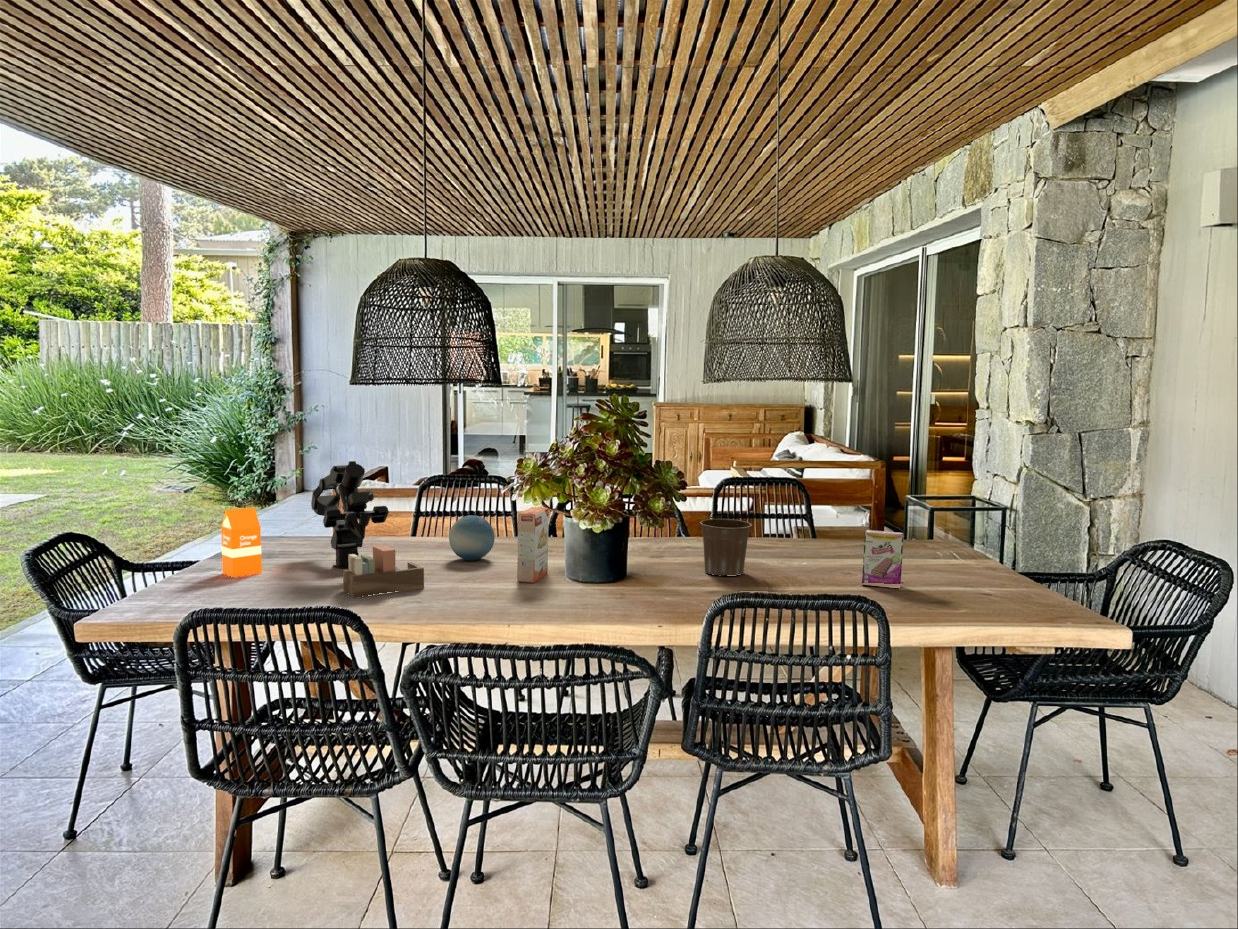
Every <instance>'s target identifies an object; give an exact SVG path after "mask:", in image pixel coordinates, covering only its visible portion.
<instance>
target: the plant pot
mask: <svg viewBox="0 0 1238 929" xmlns="http://www.w3.org/2000/svg"><path fill="white" fill-rule="evenodd" d="M699 523H700V526H701V534H702V537H703V538H702V539H703V542H702V543H703V544H702V545H703V559H704V571H705V573H706V574H707V573H708V575H709V574H714V575H722V576H725V575H737V574H742V575H743V574H744V572H745V570H744V569H745V562H746V554H747V548H748V540H749V537H750V533H751V528H752V526H753V524H752V523H751V522H748V521H744V520H739V519H730V518H709V519H703V520H701V521H699Z"/></svg>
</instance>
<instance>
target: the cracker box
mask: <svg viewBox="0 0 1238 929" xmlns="http://www.w3.org/2000/svg"><path fill="white" fill-rule="evenodd" d="M549 512H550V507H549V508H548V507H536V506H532V507H530V508H527V509H525V510H523V511H520V512H518V513H517V563H516V564H517V566H516V567H517V570H516V572H517V573H516V574H517V575H516V579H517V580H516V582H517V583H518V582H519V583H527V584H535V583H537V581H539V580H540V579H541V578H542V577H544V576H546V575H547V574H548V572H549V571H548V569H549V566H548V565H549V563H548V562H549V522H550V520H549V518H550V517H549V515H550V513H549Z"/></svg>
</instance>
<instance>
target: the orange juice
mask: <svg viewBox="0 0 1238 929" xmlns="http://www.w3.org/2000/svg"><path fill="white" fill-rule="evenodd" d="M255 508H256V507H254V506H253V507H252V506H251V507H243V508H232V509H225V511H224V512H225V513H224V516H223V520H222V522H221V527H220V528H221V530H220V532H221V560H222V563H221V564H222V574H223V575H225V574H226V575H225V576H228V577H230V576H231V577H230V578H232V577H234V578H239V577H238V576H240V577H246V576H245V575H247V576H251V575H250V574H253V575H258V574H263V570H262V566H263V565H262V560H263V559H262V537H261V536H262V535H261V534H262V533H261V532H262V529H261V527H262V526H261V524H260V520H259V518H258V515H257V512H256V509H255Z"/></svg>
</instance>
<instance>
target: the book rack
mask: <svg viewBox="0 0 1238 929" xmlns="http://www.w3.org/2000/svg"><path fill="white" fill-rule="evenodd" d="M348 562H349V569H343V570H342V579H343V580H342V583H343V584H342V585H343V590H344V591H346V592H347V593H349V594H350V595H351V596H352V597H351V596H350V595H349V594H348V595H349V596H350V597H351V598H353V599H358V598H357V597H360V598H363V597H362V596H368V595H373V594H379V593H387V592H395V591H404V592H409V590H411V591H416V589H418V590H423V589H425V569H424V568H425V567H422V566H421V565H418V564H417V563H415V562H413V561H407V569H401V568H398V567H396V566H395V568H396V571H388V572H380V573H379V572H378V571H376V570H375V561H374V558H373V556H370V555H368V554H367V553H366V554H360V556H357V555H355V554H348ZM344 591H343V592H344ZM346 592H345V593H346ZM347 593H346V594H347ZM368 597H369V596H368Z"/></svg>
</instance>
